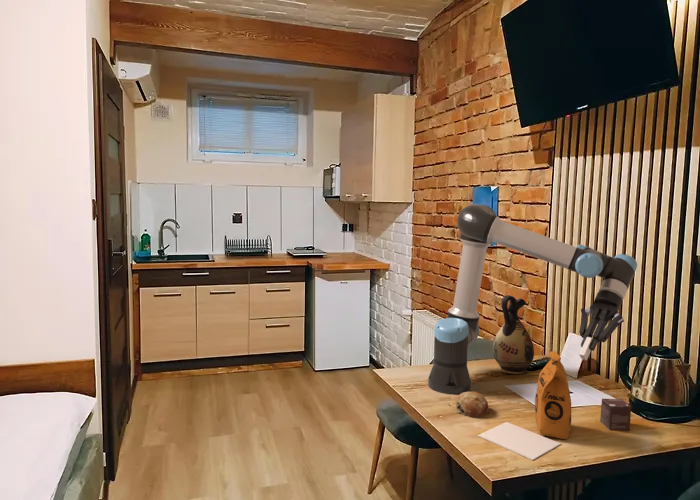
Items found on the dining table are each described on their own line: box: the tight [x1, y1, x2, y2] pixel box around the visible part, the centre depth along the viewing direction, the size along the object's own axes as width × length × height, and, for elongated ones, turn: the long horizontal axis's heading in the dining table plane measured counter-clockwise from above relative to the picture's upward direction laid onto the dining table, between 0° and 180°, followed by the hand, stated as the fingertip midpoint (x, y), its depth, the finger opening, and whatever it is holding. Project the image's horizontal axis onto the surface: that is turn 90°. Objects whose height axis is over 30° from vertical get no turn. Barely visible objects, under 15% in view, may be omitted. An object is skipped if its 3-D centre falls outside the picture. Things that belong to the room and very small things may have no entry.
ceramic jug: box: [492, 294, 535, 375], centre depth 198 cm, size 17×15×30 cm
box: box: [599, 398, 632, 431], centre depth 152 cm, size 6×6×7 cm
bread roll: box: [455, 391, 489, 418], centre depth 161 cm, size 10×10×8 cm
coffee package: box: [534, 350, 572, 440], centre depth 147 cm, size 10×12×22 cm
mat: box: [477, 421, 561, 461], centre depth 142 cm, size 17×14×1 cm
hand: (582, 357), depth 155 cm, fingers closed
